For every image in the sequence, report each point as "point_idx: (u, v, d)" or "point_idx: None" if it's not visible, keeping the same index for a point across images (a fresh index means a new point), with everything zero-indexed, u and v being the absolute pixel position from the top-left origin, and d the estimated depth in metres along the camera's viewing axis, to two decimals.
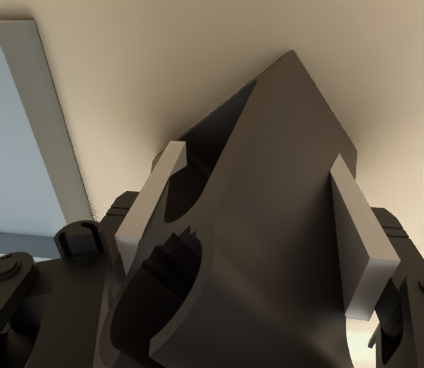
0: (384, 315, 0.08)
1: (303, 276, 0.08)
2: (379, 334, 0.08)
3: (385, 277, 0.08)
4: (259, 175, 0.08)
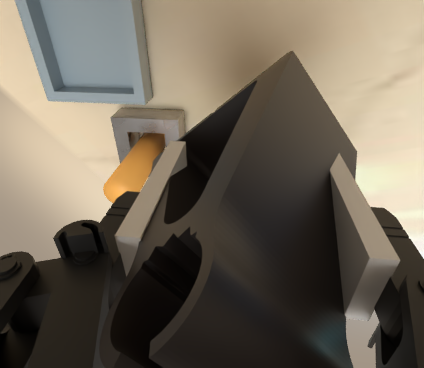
0: (384, 315, 0.08)
1: (303, 277, 0.08)
2: (379, 334, 0.08)
3: (385, 277, 0.08)
4: (259, 176, 0.08)
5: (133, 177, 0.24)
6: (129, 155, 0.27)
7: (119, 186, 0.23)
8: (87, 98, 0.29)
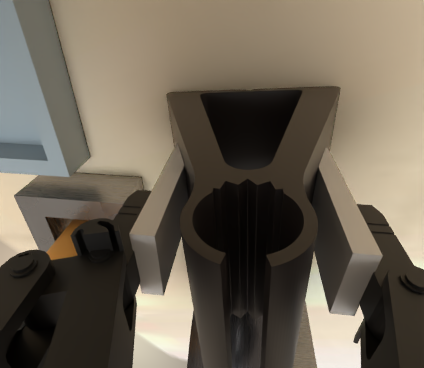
0: (368, 310, 0.08)
1: None
2: (364, 329, 0.08)
3: (368, 272, 0.08)
4: (310, 171, 0.09)
5: None
6: None
7: None
8: None
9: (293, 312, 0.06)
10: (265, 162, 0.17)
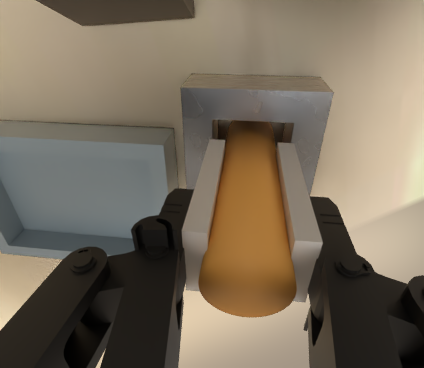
0: (313, 298, 0.08)
1: None
2: (310, 317, 0.08)
3: (312, 259, 0.08)
4: None
5: (215, 235, 0.09)
6: None
7: (222, 283, 0.08)
8: None
9: None
10: None
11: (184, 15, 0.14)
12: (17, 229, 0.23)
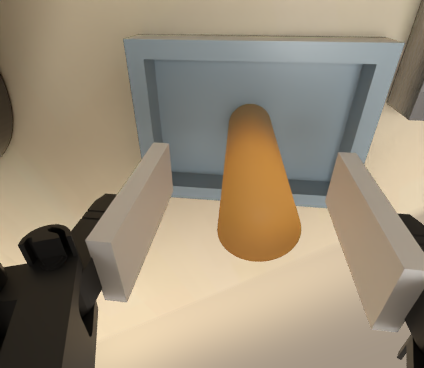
0: (417, 327, 0.08)
1: None
2: (411, 345, 0.08)
3: (419, 288, 0.07)
4: None
5: (230, 189, 0.10)
6: None
7: (238, 227, 0.10)
8: (360, 152, 0.17)
9: None
10: None
11: None
12: None
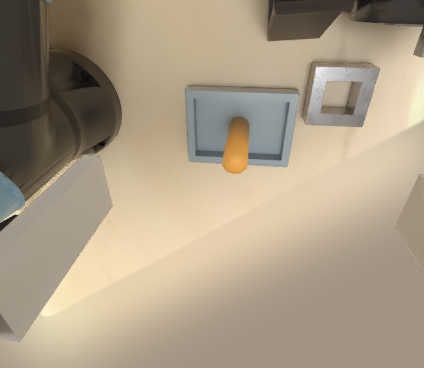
0: None
1: None
2: None
3: None
4: None
5: (226, 150, 0.31)
6: None
7: (228, 161, 0.31)
8: (289, 138, 0.38)
9: None
10: None
11: (316, 37, 0.33)
12: (196, 148, 0.42)
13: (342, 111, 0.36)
